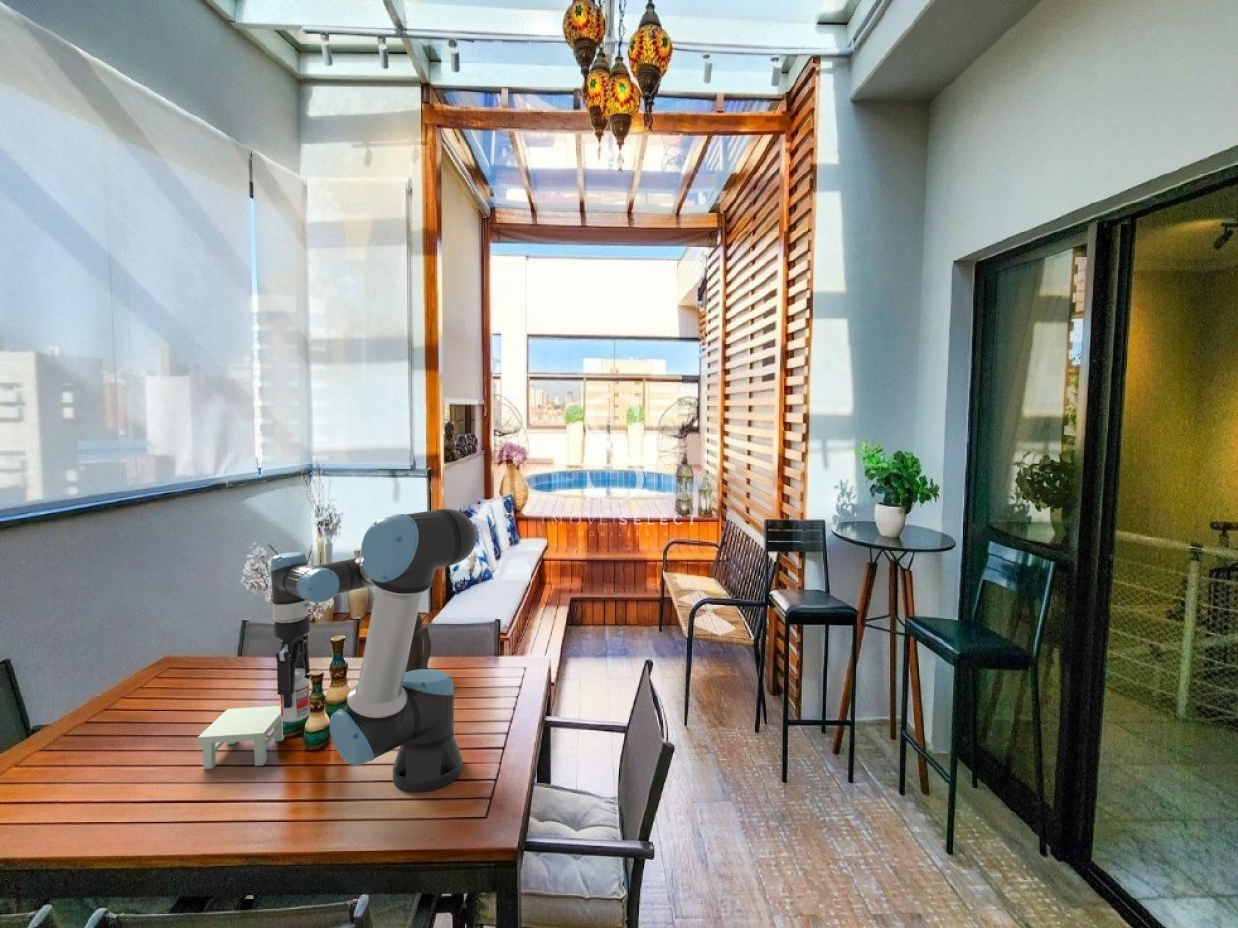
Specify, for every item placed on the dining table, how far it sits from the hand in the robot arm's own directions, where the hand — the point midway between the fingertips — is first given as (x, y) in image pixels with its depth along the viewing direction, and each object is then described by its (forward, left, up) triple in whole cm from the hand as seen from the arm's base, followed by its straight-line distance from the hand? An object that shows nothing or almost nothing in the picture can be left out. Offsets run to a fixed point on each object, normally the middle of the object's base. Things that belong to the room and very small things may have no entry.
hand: (295, 712), depth 147 cm
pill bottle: (0, 0, -1) cm, 1 cm away
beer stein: (+40, -19, -11) cm, 46 cm away
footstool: (+2, +13, -10) cm, 16 cm away
